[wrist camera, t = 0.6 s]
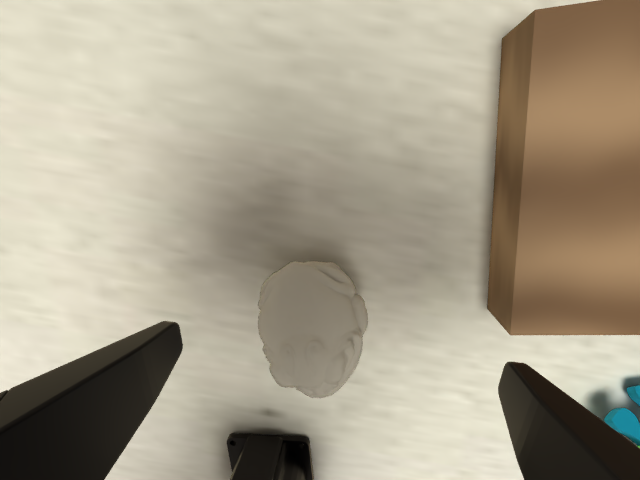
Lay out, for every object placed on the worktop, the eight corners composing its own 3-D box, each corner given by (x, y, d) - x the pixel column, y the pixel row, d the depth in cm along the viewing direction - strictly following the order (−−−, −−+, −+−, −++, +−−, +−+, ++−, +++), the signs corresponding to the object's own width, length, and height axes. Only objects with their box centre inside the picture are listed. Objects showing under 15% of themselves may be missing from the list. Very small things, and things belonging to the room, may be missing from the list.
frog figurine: (289, 343, 21) (257, 426, 15) (262, 249, 20) (212, 294, 13) (375, 331, 20) (383, 414, 13) (353, 231, 19) (350, 269, 12)
